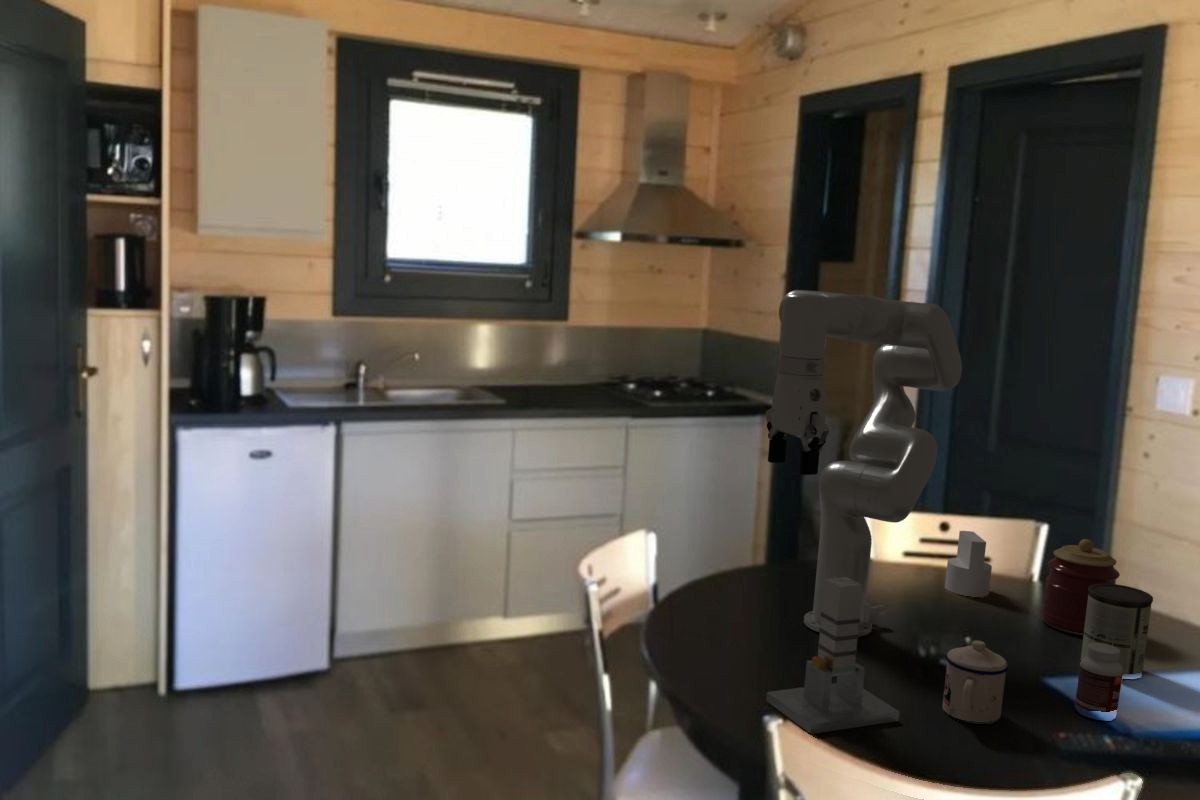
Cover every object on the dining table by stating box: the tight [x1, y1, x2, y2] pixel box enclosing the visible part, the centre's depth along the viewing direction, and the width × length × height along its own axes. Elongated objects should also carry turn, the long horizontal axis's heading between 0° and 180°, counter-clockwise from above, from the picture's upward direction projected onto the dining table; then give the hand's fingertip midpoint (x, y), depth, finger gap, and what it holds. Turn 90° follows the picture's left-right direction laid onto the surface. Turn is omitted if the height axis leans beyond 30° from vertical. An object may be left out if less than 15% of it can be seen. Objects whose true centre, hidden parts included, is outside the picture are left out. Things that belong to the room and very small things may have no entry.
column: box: [817, 577, 862, 678], centre depth 167 cm, size 4×4×14 cm
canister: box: [1041, 538, 1121, 633], centre depth 215 cm, size 13×13×18 cm
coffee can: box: [1080, 583, 1154, 674], centre depth 193 cm, size 10×10×14 cm
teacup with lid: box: [942, 640, 1009, 722], centre depth 169 cm, size 12×9×12 cm
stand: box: [765, 655, 900, 735], centre depth 169 cm, size 16×12×9 cm
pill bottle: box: [1074, 643, 1123, 712], centre depth 173 cm, size 6×6×11 cm
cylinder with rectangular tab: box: [944, 530, 993, 598], centre depth 235 cm, size 9×9×12 cm
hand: (792, 468), depth 186 cm, fingers open, 9 cm apart
